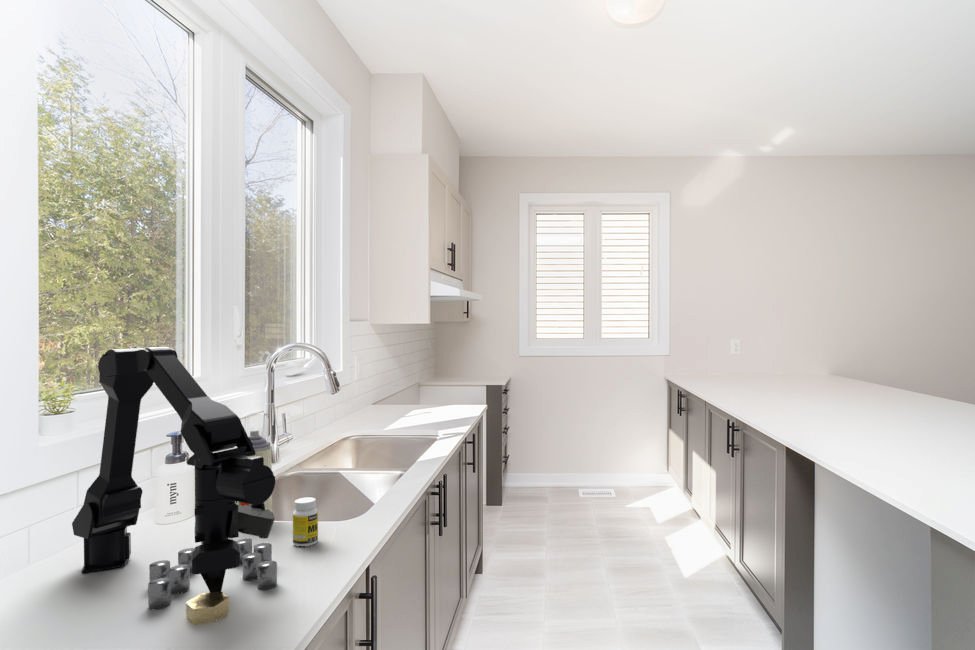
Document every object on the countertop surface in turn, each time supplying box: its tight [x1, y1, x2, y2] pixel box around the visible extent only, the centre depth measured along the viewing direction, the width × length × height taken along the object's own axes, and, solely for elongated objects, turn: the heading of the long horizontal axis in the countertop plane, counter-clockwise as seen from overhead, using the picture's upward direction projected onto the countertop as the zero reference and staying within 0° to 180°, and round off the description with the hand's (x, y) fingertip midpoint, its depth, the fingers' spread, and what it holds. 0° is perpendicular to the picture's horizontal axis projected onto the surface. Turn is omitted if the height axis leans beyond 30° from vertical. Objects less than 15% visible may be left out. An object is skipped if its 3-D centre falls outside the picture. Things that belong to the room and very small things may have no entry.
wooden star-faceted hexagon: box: [185, 590, 230, 625], centre depth 86 cm, size 5×6×2 cm
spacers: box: [147, 538, 278, 610], centre depth 98 cm, size 19×16×4 cm
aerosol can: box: [237, 429, 273, 512], centre depth 128 cm, size 7×7×20 cm
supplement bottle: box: [292, 496, 319, 547], centre depth 115 cm, size 5×5×8 cm
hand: (216, 595), depth 91 cm, fingers closed
